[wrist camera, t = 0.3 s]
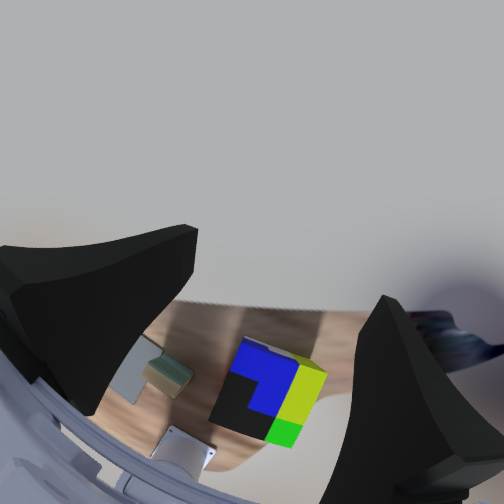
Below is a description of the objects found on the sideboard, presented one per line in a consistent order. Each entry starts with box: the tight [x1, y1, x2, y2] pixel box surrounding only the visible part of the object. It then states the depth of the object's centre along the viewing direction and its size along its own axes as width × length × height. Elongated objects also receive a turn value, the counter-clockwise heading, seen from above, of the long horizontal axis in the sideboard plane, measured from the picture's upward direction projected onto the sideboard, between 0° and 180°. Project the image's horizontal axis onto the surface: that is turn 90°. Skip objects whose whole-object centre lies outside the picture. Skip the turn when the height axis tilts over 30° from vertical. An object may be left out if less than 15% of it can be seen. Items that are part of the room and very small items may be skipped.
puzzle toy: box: [208, 336, 328, 448], centre depth 31 cm, size 10×10×10 cm
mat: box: [109, 335, 164, 405], centre depth 36 cm, size 11×8×1 cm
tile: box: [141, 354, 195, 399], centre depth 33 cm, size 2×5×7 cm, turn 60°
